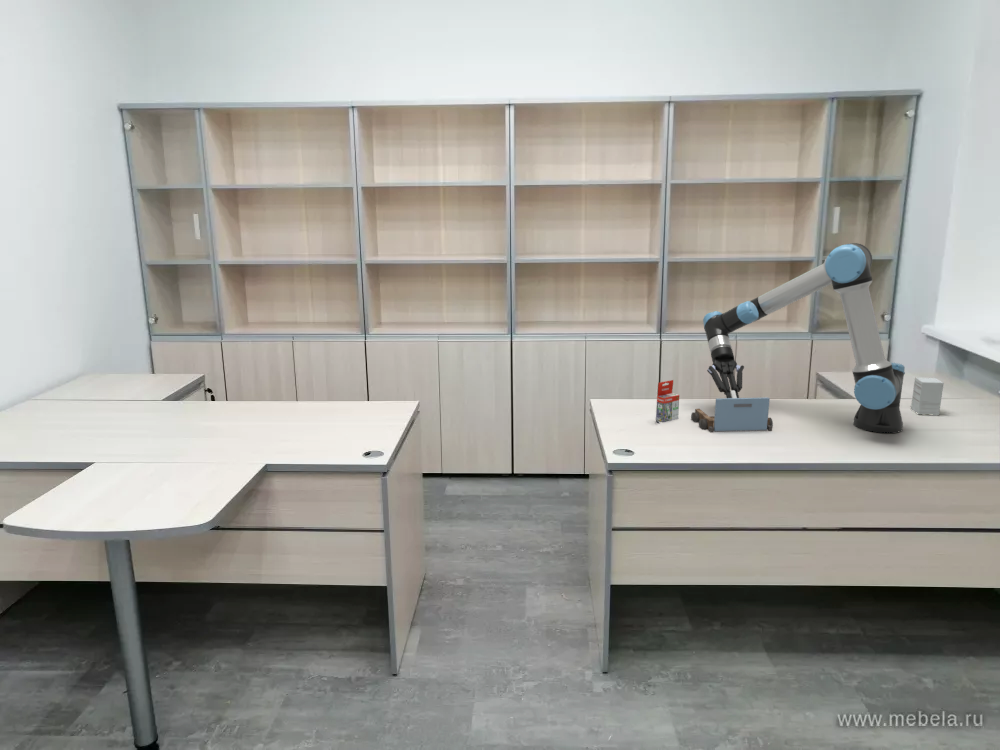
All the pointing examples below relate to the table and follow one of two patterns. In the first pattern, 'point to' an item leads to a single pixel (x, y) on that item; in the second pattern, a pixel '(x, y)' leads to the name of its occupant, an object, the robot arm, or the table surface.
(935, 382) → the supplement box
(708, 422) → the trailer bed
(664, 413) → the ink box
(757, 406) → the panel
